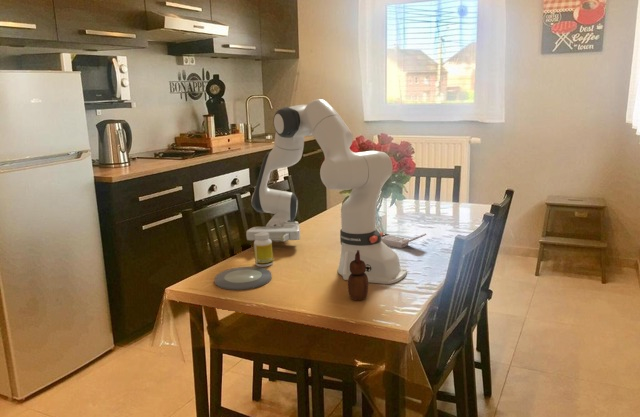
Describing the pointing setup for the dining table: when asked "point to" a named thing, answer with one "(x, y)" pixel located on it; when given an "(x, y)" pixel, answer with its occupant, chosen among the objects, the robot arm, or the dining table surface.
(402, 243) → the grey brush
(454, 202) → the dining table surface
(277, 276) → the dining table surface
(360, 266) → the brown squeeze bottle
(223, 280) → the plate
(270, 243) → the pill bottle
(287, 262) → the dining table surface
